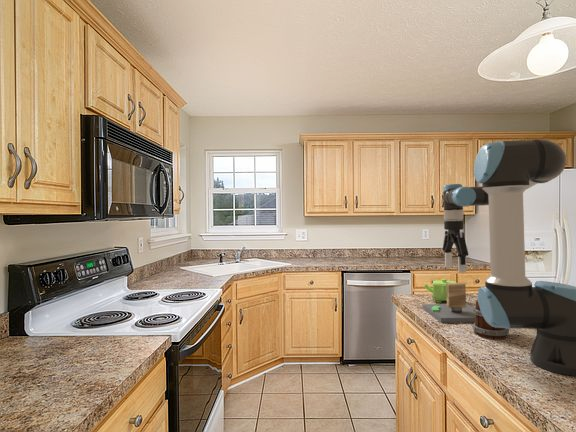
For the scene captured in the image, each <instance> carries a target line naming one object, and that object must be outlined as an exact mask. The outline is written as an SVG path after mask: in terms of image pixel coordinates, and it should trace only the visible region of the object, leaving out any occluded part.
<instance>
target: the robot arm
mask: <svg viewBox="0 0 576 432" xmlns="http://www.w3.org/2000/svg"><path fill="white" fill-rule="evenodd" d="M473 164H474V165H473V175H474V180H475V181H476V182H477V183H479V184H482V186H463V184H461V183H449V184H444V185H443V189H442V190H443V191H442V197H443V220H445V221H444V222H443V223H444V225H443V227H444V230H445V231H444V238H443V244H442V251H444V267H445V268H453V251H452V249H453V246H454V245H455V248H456V251H457V256H456V257H457V265H458V266H457V268H458V273H461V274H463V273H465V274H466V273H467V269H466V268H467V265H466V263H467V262H466V261H467V260H466V259H467V258H466V257H468V256H469V251H468V247H467V243H466V239H465V232H464V231H462V232H461V230H464V229H465V227H464V226H465V225H464V224H465V223H464V220H463V219H464V214H465V212H464V207H474V206H477V207H478V206H488V221H489V223H488V224H489V227H488V228H489V256H490V258H489V260H490V261H489V263H490V266H489V267H490V274H489V276H487V278H485V279H484V284H485V285H484V286H482V287H479V288H478V290H477V291H478V292H477V300H478V303H479V307H480V310H481V313H482V315H483V317H484V319H485V320H486V322H487V323H488V324H489V325H491V326H492V327H496V328H506V329H509V330H510V329H536V335H535V338H534V341H533V343H532V346H531V349H530V351H529V357H530V358H529V360H530V362H532V363H533V364H534V365H535V366H537V367H538V368H542V369H543V370H546V371H549V372H552V373H555V374H556V373H557V374H561V375H565V376H571V377H576V285H575V286H574V285H570V284H566V283H561V282H559V283H558V282H555V281H546V280H545V281H544V280H539V281H538V280H536V281H534V284H533V282H532V281H531V280H530V279H528V278H527V276H526V253H525V220H524V219H525V218H524V217H525V214H524V192H525V191H526V190H528V189H531V188H532V187H533V186H535V185H538V184H545V183H548V182H551V181H552V180H554V179H556V178H557V177H558V176H560V175H561V174H562V173H563V172H564V170H565V168H566V165H567V155H566V153H565V151H564V149H563V147H561V146H560V145H558V144H557V143H556V142H554V141H552V140H548V139H543V138H542V139H541V138H540V139H524V140H523V139H522V140H499V141H494V142H493V141H492V142H487V143H485V144H484V145H482V146H481V147H480V149H479V150H478V152H477V155H476V156H475V161H474V163H473ZM533 285H534V286H533Z"/></svg>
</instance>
